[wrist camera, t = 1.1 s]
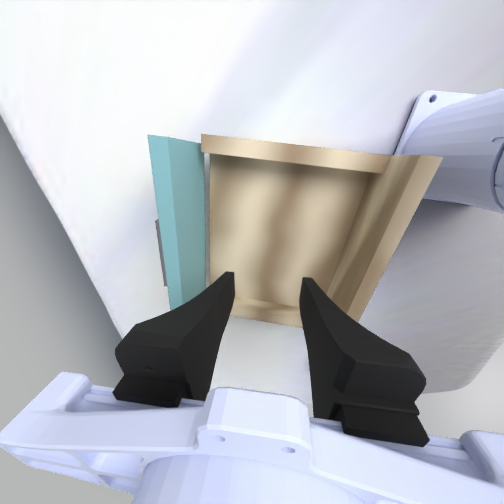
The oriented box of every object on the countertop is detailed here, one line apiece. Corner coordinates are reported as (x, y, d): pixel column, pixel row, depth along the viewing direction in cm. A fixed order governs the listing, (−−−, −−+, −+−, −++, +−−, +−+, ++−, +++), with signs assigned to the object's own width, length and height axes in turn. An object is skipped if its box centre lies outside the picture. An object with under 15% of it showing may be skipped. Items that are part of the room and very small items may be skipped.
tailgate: (204, 144, 16) (167, 137, 11) (205, 295, 24) (185, 335, 18) (183, 141, 16) (137, 133, 11) (192, 293, 24) (167, 332, 18)
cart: (374, 157, 18) (443, 157, 10) (321, 301, 26) (339, 357, 19) (219, 140, 18) (183, 128, 11) (216, 284, 27) (194, 332, 19)
